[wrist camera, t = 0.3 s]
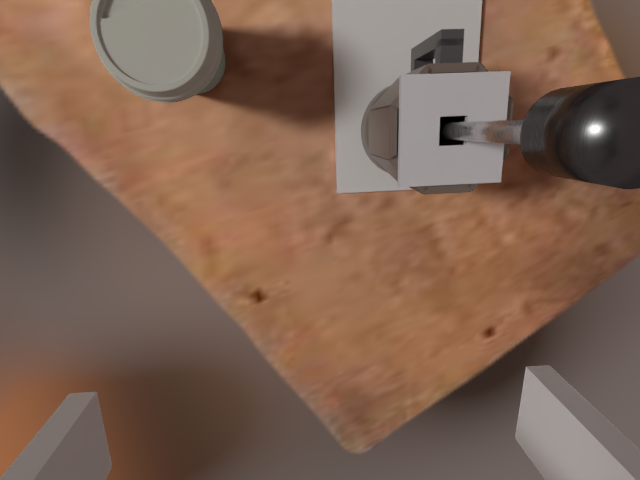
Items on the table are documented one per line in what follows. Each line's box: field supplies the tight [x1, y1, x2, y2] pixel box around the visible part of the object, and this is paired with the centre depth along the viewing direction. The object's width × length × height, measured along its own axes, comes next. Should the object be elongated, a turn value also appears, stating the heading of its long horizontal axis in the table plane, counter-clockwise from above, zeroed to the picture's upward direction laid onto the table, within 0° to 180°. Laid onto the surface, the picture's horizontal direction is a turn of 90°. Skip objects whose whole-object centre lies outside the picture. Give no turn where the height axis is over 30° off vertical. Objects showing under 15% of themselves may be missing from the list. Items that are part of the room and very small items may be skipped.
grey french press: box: [361, 29, 514, 194], centre depth 33 cm, size 11×9×12 cm
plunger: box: [440, 77, 640, 189], centre depth 21 cm, size 4×4×16 cm
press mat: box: [332, 0, 482, 193], centre depth 38 cm, size 20×14×1 cm
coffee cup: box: [90, 0, 226, 103], centre depth 31 cm, size 8×8×12 cm
